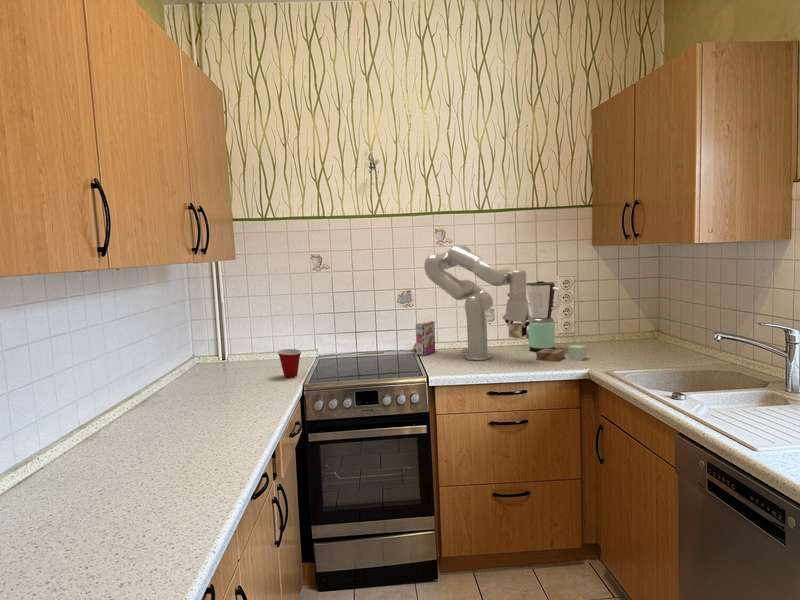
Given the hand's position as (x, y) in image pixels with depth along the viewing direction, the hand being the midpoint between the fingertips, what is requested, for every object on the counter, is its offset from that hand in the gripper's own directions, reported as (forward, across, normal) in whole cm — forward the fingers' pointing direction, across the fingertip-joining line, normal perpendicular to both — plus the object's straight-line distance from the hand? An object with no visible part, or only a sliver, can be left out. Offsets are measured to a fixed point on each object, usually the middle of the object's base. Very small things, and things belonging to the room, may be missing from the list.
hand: (517, 334), depth 279 cm
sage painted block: (+12, +22, +17) cm, 30 cm away
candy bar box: (+15, -50, -5) cm, 52 cm away
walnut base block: (+13, +11, +12) cm, 21 cm away
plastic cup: (+16, -74, -75) cm, 106 cm away
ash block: (+1, 0, 0) cm, 1 cm away
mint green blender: (+13, -1, +29) cm, 32 cm away
